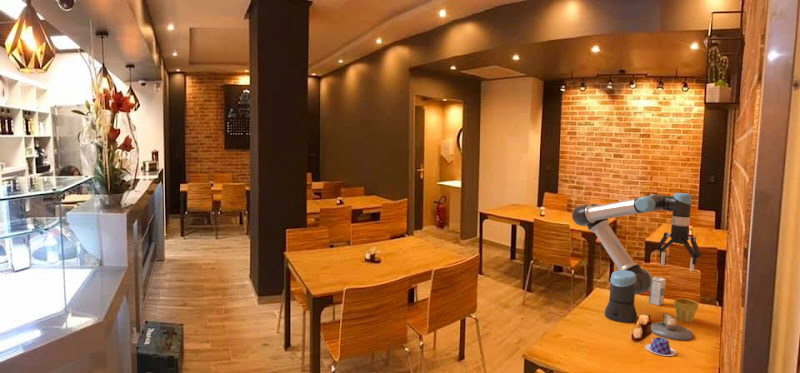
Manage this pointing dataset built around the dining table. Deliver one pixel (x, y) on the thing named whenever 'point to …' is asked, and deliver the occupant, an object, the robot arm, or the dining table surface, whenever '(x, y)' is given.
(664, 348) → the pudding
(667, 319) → the tuning peg
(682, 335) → the flat grey disc
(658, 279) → the syrup box
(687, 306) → the plant pot
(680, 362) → the dining table surface
